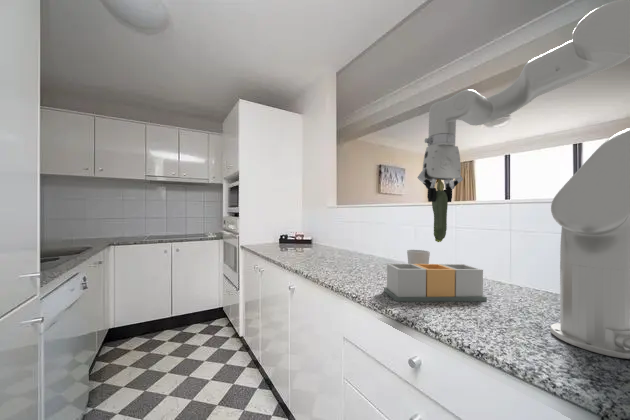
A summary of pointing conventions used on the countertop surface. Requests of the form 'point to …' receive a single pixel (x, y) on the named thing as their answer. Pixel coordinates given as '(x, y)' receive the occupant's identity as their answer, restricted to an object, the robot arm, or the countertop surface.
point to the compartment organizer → (434, 282)
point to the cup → (418, 256)
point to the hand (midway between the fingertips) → (439, 201)
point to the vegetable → (440, 212)
